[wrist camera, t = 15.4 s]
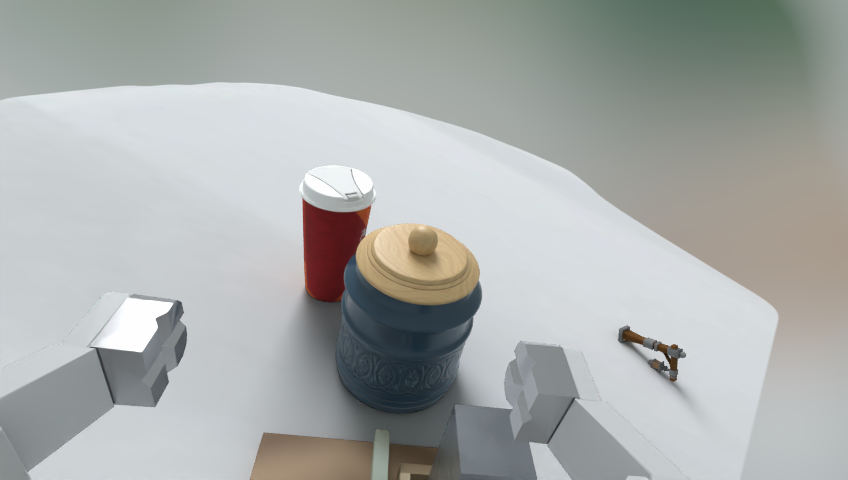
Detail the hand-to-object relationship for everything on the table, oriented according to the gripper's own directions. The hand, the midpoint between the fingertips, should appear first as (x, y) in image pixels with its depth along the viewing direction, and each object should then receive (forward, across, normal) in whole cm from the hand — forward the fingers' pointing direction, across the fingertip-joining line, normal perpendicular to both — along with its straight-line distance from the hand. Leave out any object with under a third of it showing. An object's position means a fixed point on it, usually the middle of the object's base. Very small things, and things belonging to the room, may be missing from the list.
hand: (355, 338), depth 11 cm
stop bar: (+8, -9, +29) cm, 31 cm away
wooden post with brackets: (+30, -36, +30) cm, 56 cm away
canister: (+25, -5, +30) cm, 39 cm away
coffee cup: (+36, +4, +30) cm, 47 cm away
